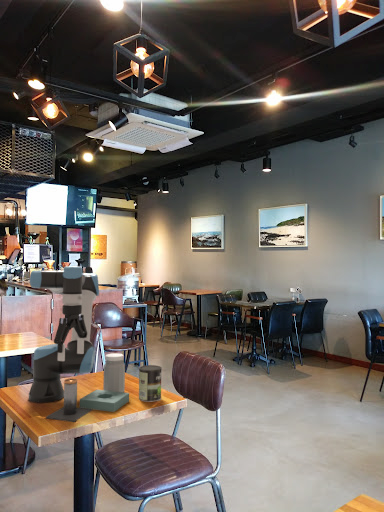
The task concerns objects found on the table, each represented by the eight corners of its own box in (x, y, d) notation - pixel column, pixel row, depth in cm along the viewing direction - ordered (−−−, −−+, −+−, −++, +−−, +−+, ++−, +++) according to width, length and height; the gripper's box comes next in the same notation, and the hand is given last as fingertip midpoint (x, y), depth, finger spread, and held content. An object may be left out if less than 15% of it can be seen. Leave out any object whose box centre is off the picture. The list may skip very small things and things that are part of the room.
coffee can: (163, 396, 187) (164, 365, 187) (157, 403, 177) (158, 371, 177) (142, 394, 189) (143, 364, 189) (135, 401, 179) (135, 369, 179)
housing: (79, 408, 169) (79, 399, 169) (96, 398, 183) (96, 389, 183) (114, 413, 165) (114, 403, 165) (128, 402, 178) (129, 393, 178)
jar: (99, 395, 187) (99, 356, 188) (110, 389, 196) (111, 352, 197) (117, 397, 184) (117, 358, 184) (128, 391, 193) (128, 353, 193)
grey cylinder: (61, 414, 161) (61, 381, 161) (68, 410, 166) (68, 378, 166) (72, 415, 159) (72, 382, 160) (79, 411, 164) (79, 379, 165)
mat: (45, 418, 158) (45, 416, 158) (65, 407, 170) (65, 405, 170) (75, 422, 154) (75, 420, 154) (92, 410, 167) (92, 409, 167)
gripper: (62, 307, 151) (60, 365, 150) (96, 302, 175) (95, 351, 174) (44, 306, 153) (43, 363, 152) (80, 301, 177) (79, 350, 176)
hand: (71, 357), depth 163 cm, fingers open, 13 cm apart
